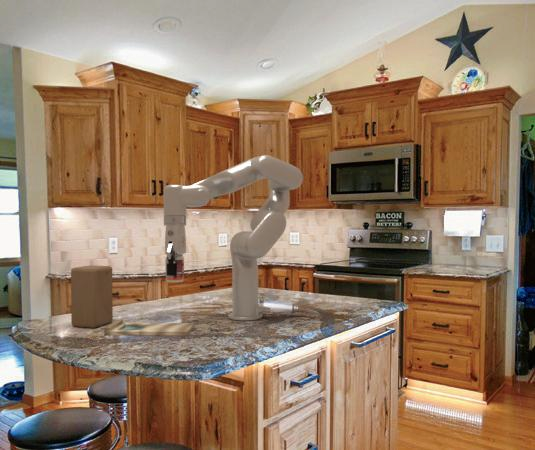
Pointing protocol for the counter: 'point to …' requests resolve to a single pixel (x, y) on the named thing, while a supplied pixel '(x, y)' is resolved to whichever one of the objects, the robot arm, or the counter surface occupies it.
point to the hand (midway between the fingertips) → (174, 273)
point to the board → (148, 328)
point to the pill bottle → (180, 270)
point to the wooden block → (91, 296)
